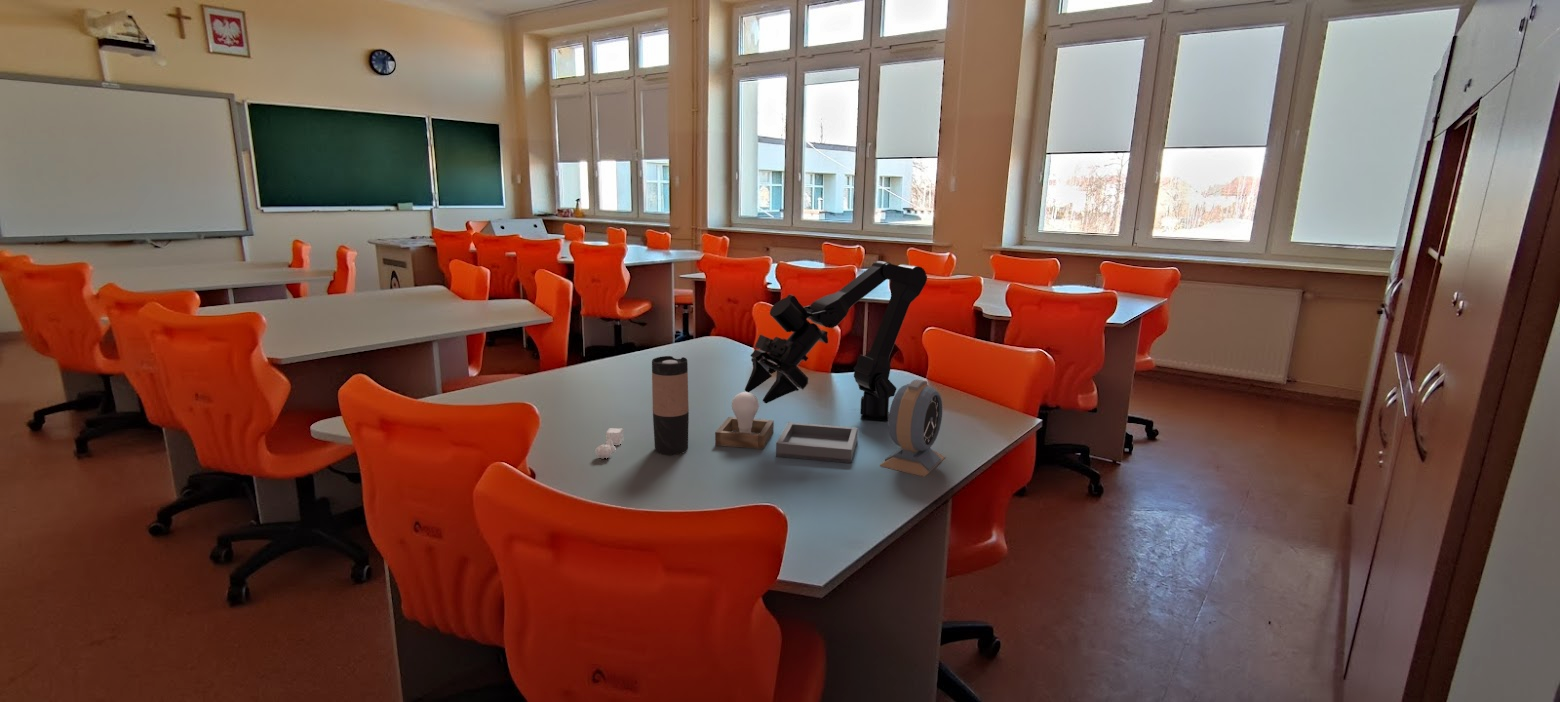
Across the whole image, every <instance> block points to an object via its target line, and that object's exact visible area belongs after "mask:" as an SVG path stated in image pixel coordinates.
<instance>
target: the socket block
mask: <svg viewBox="0 0 1560 702" xmlns="http://www.w3.org/2000/svg"><path fill="white" fill-rule="evenodd" d="M774 424H775V423H774V420H772V419H761V418H760V419H759V418H754V419H753V423H752V428H751V433H742V432H740V431H739V427H738V420H737V418H736V416H728V417H727V418H726V419H725V420H724V421H723V422H722V424H721V425H720V426H719V427H718V428H717V430H716V431H715V433H714V435H715V437H714V438H715V441H714V442H715V443H714V444H715V446H721V447H722V446H723V447H733V448H734V447H735V448H743V449H744V448H746V449H755V450H756V449H757V450H765V448H766V446H767V444H768V442H769V440H770V439H771V437H772V436H773V434H774V428H775V427H774Z"/></svg>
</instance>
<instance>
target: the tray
mask: <svg viewBox="0 0 1560 702" xmlns="http://www.w3.org/2000/svg"><path fill="white" fill-rule="evenodd" d="M858 429H859V428H858V427H853V426H851V427H850V426H841V425H830V424H829V425H827V424H826V425H825V424H817V423H815V424H814V423H801V422H791V421H790V422H787V424H786V426H785V427H784V429H783V430H782V432H781V434H780V435H779V437H778V440H777V441H776V442H775V443H776V444H775V457H777V458H778V457H779V458H786V459H787V458H788V459H789V458H790V459H800V460H810V461H823V462H824V461H825V462H834V463H844V464H845V463H846V464H852V461H853V457H854V454H855V449H856V446H857V442H858Z"/></svg>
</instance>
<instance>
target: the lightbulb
mask: <svg viewBox="0 0 1560 702" xmlns="http://www.w3.org/2000/svg"><path fill="white" fill-rule="evenodd" d="M759 404H760V403H759V399H758V398H757V397H756V395H755V394H753V393H752V392H746V391H741V392H739V393H737V394H736V395H735V396H734V397H733V399H732V402H731V410H732V412H733V414H734V417H736V418H737V420H738V427H739V431H740V432H742V433H751V428H752V423H753V419H755V417H756V415H757V413H758V412H759V407H760V405H759Z"/></svg>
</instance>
